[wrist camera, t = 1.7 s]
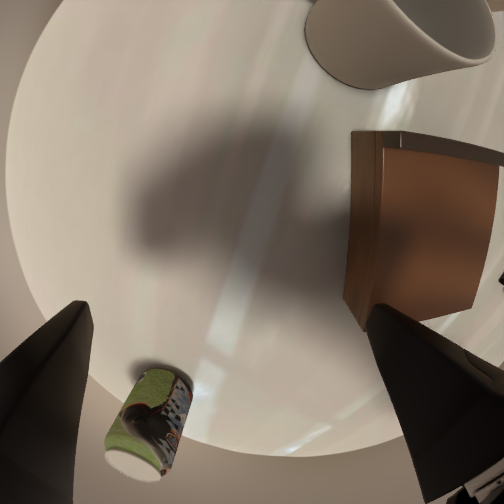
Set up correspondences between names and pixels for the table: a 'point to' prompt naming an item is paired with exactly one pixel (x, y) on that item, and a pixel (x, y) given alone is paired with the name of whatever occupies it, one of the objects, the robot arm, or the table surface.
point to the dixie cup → (496, 5)
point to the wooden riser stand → (418, 223)
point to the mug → (398, 38)
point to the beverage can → (149, 426)
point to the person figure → (502, 280)
